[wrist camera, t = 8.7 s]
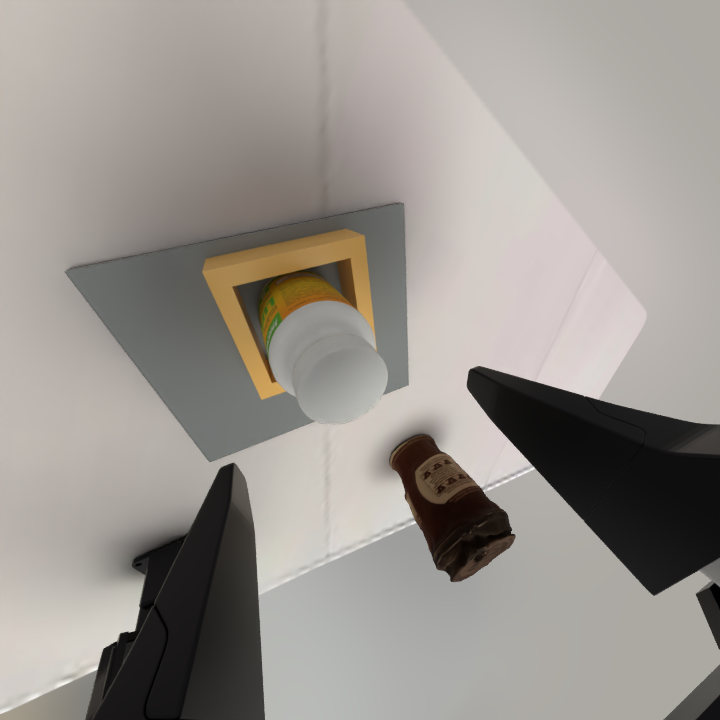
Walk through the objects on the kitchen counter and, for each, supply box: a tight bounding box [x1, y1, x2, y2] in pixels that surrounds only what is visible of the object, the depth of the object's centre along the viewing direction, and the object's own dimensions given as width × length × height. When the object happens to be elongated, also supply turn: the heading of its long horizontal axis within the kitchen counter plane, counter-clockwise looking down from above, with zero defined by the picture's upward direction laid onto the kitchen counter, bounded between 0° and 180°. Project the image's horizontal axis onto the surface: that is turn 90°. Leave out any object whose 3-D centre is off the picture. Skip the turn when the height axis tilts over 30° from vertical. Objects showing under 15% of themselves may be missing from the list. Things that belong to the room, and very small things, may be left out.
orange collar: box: [202, 229, 377, 400], centre depth 18 cm, size 8×8×3 cm
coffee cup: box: [390, 435, 515, 582], centre depth 30 cm, size 9×8×13 cm
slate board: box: [65, 203, 409, 462], centre depth 21 cm, size 16×19×1 cm
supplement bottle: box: [258, 269, 388, 425], centre depth 15 cm, size 5×5×10 cm
